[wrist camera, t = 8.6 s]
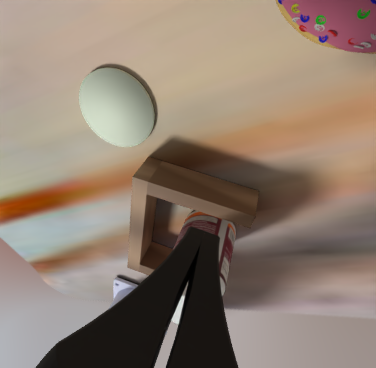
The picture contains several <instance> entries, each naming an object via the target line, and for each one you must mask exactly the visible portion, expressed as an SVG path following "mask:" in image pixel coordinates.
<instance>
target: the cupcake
mask: <svg viewBox="0 0 376 368" xmlns="http://www.w3.org/2000/svg"><path fill="white" fill-rule="evenodd" d="M276 3H277V5H278V7H279V9H280V11H281V13H282V15H283V16H284V18H285V19H286V20H287V21H288V22H289V23H290V24H291V25H292V26H293V27H294V28H295V29H296V30H297V31H298V32H299V33H300V34H301V35H303V36H304V37H306V38H307V39H309V40H311V41H313V42H315V43H317V44H320V45H323V46H326V47H331V48H336V49H341V50H345V51H350V52H361V53H372V54H376V0H276Z"/></svg>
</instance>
